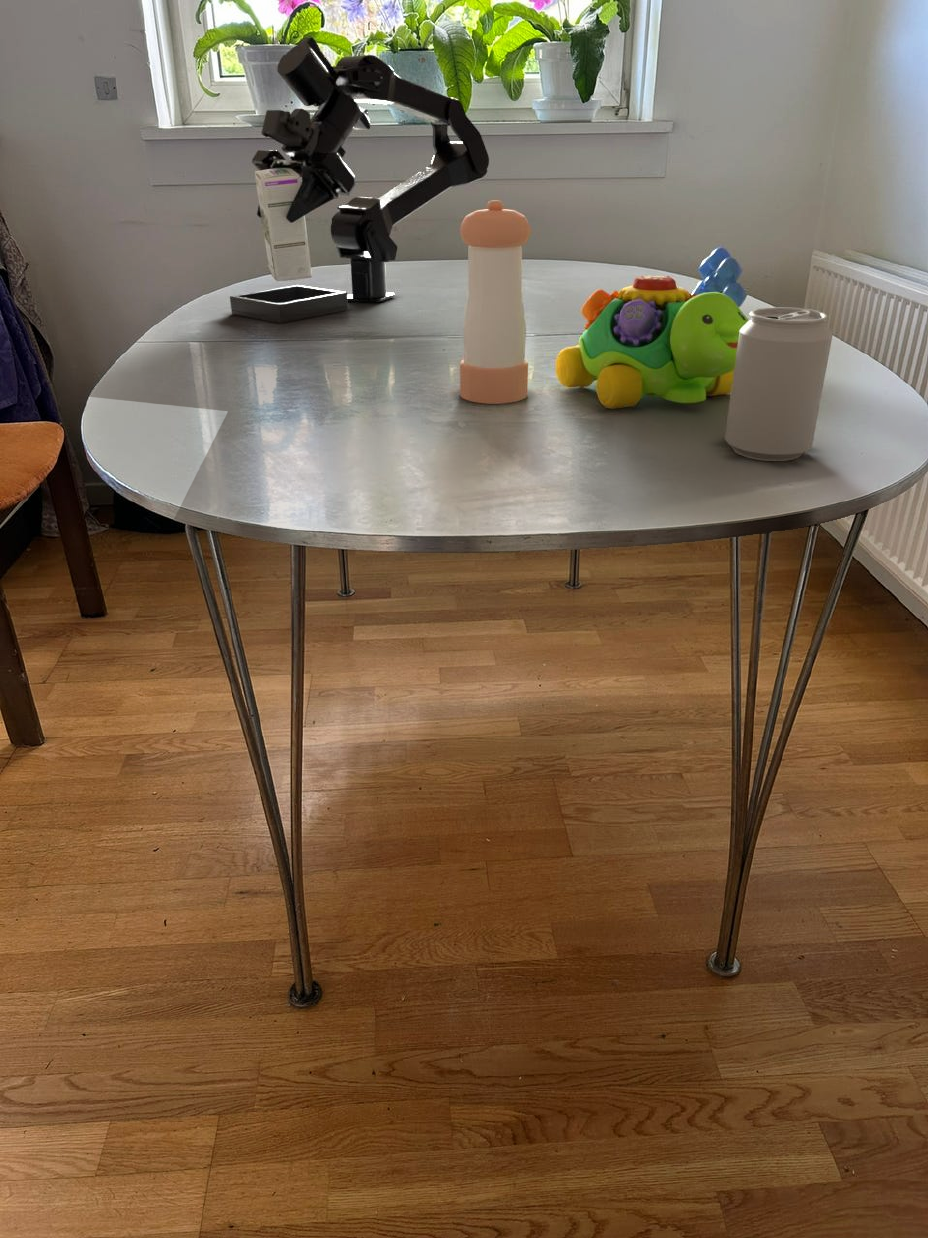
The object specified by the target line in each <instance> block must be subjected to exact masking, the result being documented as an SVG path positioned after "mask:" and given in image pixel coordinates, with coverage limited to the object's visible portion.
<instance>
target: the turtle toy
mask: <svg viewBox="0 0 928 1238" xmlns="http://www.w3.org/2000/svg"><path fill="white" fill-rule="evenodd" d="M580 312H581V314H582V316H583V317H584V318H585V320H586V321H587V322H586V324H584V329H585V330H584V331H583V332H582V335H581V336H579V338H578V342H579V343H578V344H576V345H575V346H568V347H564V348H562V349H561V350H560V352H559V353H558V354H557V356H556V359H555V374H556V375H555V376H556V378H557V381H558V382H559V383H560V384H561V385H562V386H564V387H565V388H577V387H578V388H579V387H580V388H585V387H589V386H591V385H592V384H593V383H594V382H595V381H596V394H597V398H598V400H599V402H600V404H601V405H603V406H604V408H607V409H611V410H612V409H621V408H622V409H623V408H630V407H634V406H637V404H638V403H639V402H640V400H641V399H643V398H644V397H645V396H646V397H654V398H655V397H656V398H661V399H664V400H666V401H669V402H673V403H679V404H694V403H701V402H704V401H706V399H707V397H712V396H714V397H715V396H721V395H728V394H731V390H732V383H733V375H734V368H735V361H736V353H737V346H738V339H739V331H740V329H741V328H742V327H743V326H744V325H745V324H746V323H747V322H749V321H750V319H749V318H748V317H747V315H745V313H744V312H743V311H742V310H741V308H740V307H738V306H737V304H736V303H735V302H734V301H733V300H732V299H731V298H730V297H728V296H727V295H725V294H722V293H718V292H709V293H702V294H699V295H696V294H693V295H692V294H691V293H690V292H689V291H688V290H687V289H685V288H683V287H681V286H677V282H676V280H675V279H674V278H672V277H670V275H667V276H666V275H665V276H664V275H646V276H644V275H641V276H640V277H635V278H634V280H633V283H632V285H629V286H626V287H623V288H621V289H620V290H619V291H618V290H614V291H612V292H611V293H609V292H607V291H605V290H604V289H602V288H599V289H596V290H595V291H594V292H593V293H592V294H591V295H590V296H589V297H588V298H587V300H586V301H585V302H584V304H583V305H582V306H581V309H580Z"/></svg>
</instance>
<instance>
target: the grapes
mask: <svg viewBox="0 0 928 1238" xmlns="http://www.w3.org/2000/svg"><path fill="white" fill-rule="evenodd" d="M697 271H698V272H699V274H700V276H701V277H702V279H701V280H700V281H699V282H698V283H697V284H696V286H695V288H694V290H693V291H691V293H690V294H692V295H693V294H696V295H699V294H702V293H709V292H718V293H722V294H725V295H727V296H728V297H730V298H731V299H732V300H733V301H734V302H735V303H736V304H737V306H738V307H739V308H740V307H741V306H743V304H744V302H745V301H746V299H747V297H748V294H747V292H746V290H745V287H743V285H742V284H741V283H739V282H738V280H739V278H740V277H741V275H742V273H743V268H742V267H741V265H740V263H739V262H738V260H737V259H736V258H735V257H732V256H731V254H730V252H729V251H728V250H727V248H724V247H722V246H720V247H719V246H718V247H717V248H715V249H714V250H713V251H712V252H711V254H710V255H709V256H707V257H706V258H705V259H703V260H702V262H701V264H700V266H699V267H698V270H697Z"/></svg>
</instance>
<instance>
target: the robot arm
mask: <svg viewBox="0 0 928 1238" xmlns="http://www.w3.org/2000/svg"><path fill="white" fill-rule="evenodd" d="M276 69H277V70H276V71H277V73H278V75H279V76H280V77H281V78H282V80H283V81H284V82H285V84H286V85H287V86H288V87H289V89H290V90H291V91H292V92H293V93H294V95H295V96H296V97H297V98H298V100H299V101H300V102H301V103H302V105H304V106H305V107H311V106H313V107H314V108H315V107H317V108H316V110H315V112H314V113H313V115H312V116H311V113H310V112H309V111H307V110H305V109H304V108H294V109H293V110H292V111H287V110H286V111H285V110H281V109H267V110H266V111H265V115H264V119H263V124H262V128H261V133H260V134H261V135H262V136H263V137H265V138H270V139H272V140H274V141H275V142H277V143H279V144H281V145H282V147H281V148H280V149H281V150H282V152H283V153H284V154H285V155H286V156H289V159H286V158H285V157H284V156H283V155H282V154H281V152H280V151H279V150H277V149H258V150H257V151H256V152H255V154H254V156H253V157H252V159H251V163H252V164H253V166H255V168H256V169H257V171H261V170H266V169H273V168H291V169H292V170H294V171H295V172H296V173H298V174H299V176H300V178H301V186H300V188H299V190H298V192H297V194H296V196H295V198H294V200H293V202H292V204H291V207H290V209H289V211H288V214H287V216H286V219H287V220H288V221H289V222H290V223H293V222H295V221H296V220H298V219H299V218H301V217H303V216H304V215H305V216H307V215H308V214H309V213H312V212H314V211H315V210H316V209H318V208H320V207H322V206H323V205H325V204H327V203H329V202H331V201H333V200H337V199H338V198H339V197H340V196H347V197H348V196H350V195H351V194H352V192H353V190H354V188H355V187H356V175H355V174H354V173H353V171H352V170H351V169H350V168H349V167H348V165H347V164H346V163H345V162H344V160H343V159H342V158H344V156H345V155H346V153H347V152H346V150H345V149H344V147H343V146H344V145H345V143H346V142H347V140H348V138H349V137H350V135H351V134H352V132H353V130H365V131H367V130H368V131H369V130H370V129H371V122H370V118H369V115H368V114H369V110H368V109H366V108H361V107H360V106H359V104H358V103H370V104H383V105H385V106H387V107H390V108H394V109H396V110H398V111H401V112H404V113H407V114H409V115H412V116H414V117H417V118H420V119H422V120H425V121H427V122H430V125H431V127H432V147H433V150H434V152H435V153H434V155H433V157H432V160H431V163H430V165H428V166H427V167H425V168H424V169H422V170H421V171H419V172H418V173H416V174H414V175H413V176H412V177H410V178H408V179H406V180H405V181H403V182H402V183H400V184H398V185H397V186H396V187H394V188H393V189H391V190H389V191H388V192H387V193H385V194H383V195H382V196H380V197H379V198H378V197H365V196H354V197H353V198H351V200H349V201H348V202H347V203H346V204H344V205H341V206H337V210H338V211H337V212H336V213H335V214H333V216H332V218H331V223H330V235H331V236H330V237H331V239H332V241H333V244H334V245H335V246H336V250H337V253H338V256H339V258H340V259H347V260H348V259H349V264H350V280H351V281H350V282H351V284H350V285H351V294H348V295H347V301H348V302H349V301H351V302H365V303H366V302H367V303H382V302H383V301H386V300H388V299H391V298H393V297H395V295H396V294H395V293H394V292H387V291H388V289H387V272H386V271H387V269H386V268H387V267H386V263H389V262H390V261H395V260H396V257H397V253H398V245H397V244H396V243H395V241H394V240H393V239H392V238H391V237H390V235H391V233H392V231H393V227H394V226H395V225H396V224H398V223H399V222H401V221H403V220H404V219H405V218H407V217H408V216H410V215H412V214H413V213H414V212H416V211H417V210H419V209H420V208H422V207H423V206H425V205H426V204H428V203H429V202H431V201H432V200H434V199H435V198H437V197H439V196H440V195H441V194H443V193H444V192H446V191H448V190H450V189H451V188H455V187H459V186H464V185H469V184H471V183H475V182H477V181H480V180H482V179H484V177H485V176H486V175H487V174H488V168H489V165H490V157H489V153H488V150H487V148H486V145H485V142H484V139H483V136H482V134H481V132H480V131H479V130H478V128H477V127H476V126H475V124H474V123H473V122H472V121H471V120H470V118H469V117H468V116H467V114H466V111H465V108H464V106H463V104H462V102H461V101H460V99H457V98H455V97H449V96H446V95H444V94H442V93H440V92H436V91H434V90H433V89H432V90H431V89H429V88H426V87H424V86H422V85H419V84H417V83H415V82H412V81H410V80H407V79H406V78H402V77H400V75H398V74H396V73H395V71H394V69H393V68H392V67H391V65H390V64H388V63H386V62H385V61H384V60H382V59H381V58H380V57H378V56H376V55H374V54H365V55H350V56H342V57H341V58H340V59H339V60H338V61H337V62H336V65H335V66H333V65H332V64H331V62H330V60H328V59H327V57H326V55H325V54H324V53H323V51H322V50H321V48H320V46H319V44H318V43H317V41H316V40H315V38H314V37H312V36H311V37H303V38H302V39H301V41H300V42H299V43H298V44H297V45H295V46H293V47H292V48H291V49H290V50H288V51H287V53H286V54H283V55H282V56H281V58H280V59H279V62H278V64H277V68H276ZM449 127H450V128H451V130H452V132H453V133H454V134H455V135H456V136H457V139H459V140H460V141H451V139H450V137H449V134H448V130H449V129H448V128H449ZM256 216H257V217H258V218H259V219H260V220H262V219H261V213H260V206H259V205H258V207H257V211H256Z"/></svg>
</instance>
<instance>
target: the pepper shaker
mask: <svg viewBox="0 0 928 1238" xmlns="http://www.w3.org/2000/svg"><path fill="white" fill-rule="evenodd" d="M504 206H505V205H504V202H503V201H502V200H499V199H491V200H490V201H488V203H487V209H477V210H474V211H472V212H471V213H468V214H467V215H466V216H465V217H464V219H463V220H462V222H461V225H460V230H459V233H460V236H461V240H462V243H463V244H465V245H468V248H467V250H468V251H467V253H468V254H467V260H468V261H467V296H466V302H465V303H466V304H465V310H464V318H463V324H462V345H463V346H462V348H463V359H461V361H460V363H459V373H460V374H459V384H460V385H459V386H460V387H459V390H460V392H459V396H460V397H461V399H464V400H466V401H468V402H473V403H478V404H488V405H489V404H491V405H492V404H497V405H498V404H499V405H500V404H501V405H502V404H510V403H516V402H520V401H522V400H524V399H526V398H527V397H528V389H529V388H528V385H529V383H528V382H529V363H528V360H527V359H525V356H526V340H527V339H526V338H527V326H526V325H527V324H526V319H525V318H526V317H525V309H524V302H523V300H524V299H523V293H522V286H523V285H522V282H523V281H522V280H523V279H522V278H523V276H522V274H523V248H522V245H525V244H526V243H528V240H529V239H530V235H531V232H532V231H531V226H530V223H529V221H528V219H527V217H526V216H525V214H522V213H521V212H519V211H517V210H515V209H504Z"/></svg>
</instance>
